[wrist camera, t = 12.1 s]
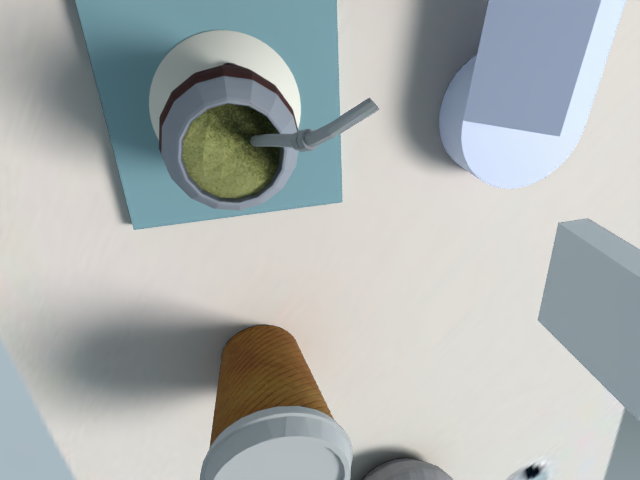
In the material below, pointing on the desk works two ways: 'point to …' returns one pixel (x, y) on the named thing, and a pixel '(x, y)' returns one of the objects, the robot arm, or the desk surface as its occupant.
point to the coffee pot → (407, 471)
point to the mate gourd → (237, 137)
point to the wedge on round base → (527, 88)
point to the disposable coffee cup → (272, 415)
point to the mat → (200, 54)
